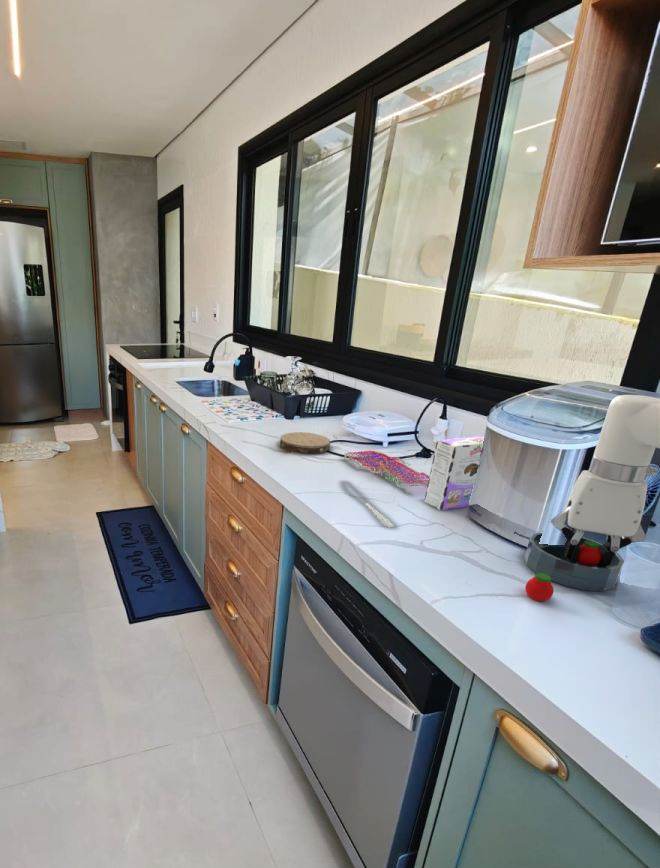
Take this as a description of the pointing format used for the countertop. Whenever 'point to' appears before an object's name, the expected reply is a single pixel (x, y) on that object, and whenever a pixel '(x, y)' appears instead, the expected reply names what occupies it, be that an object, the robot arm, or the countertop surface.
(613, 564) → the bowl
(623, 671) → the countertop surface
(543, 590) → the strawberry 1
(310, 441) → the wooden disc
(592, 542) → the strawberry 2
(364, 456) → the speckled fish figure
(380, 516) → the butter knife
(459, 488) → the candy box
